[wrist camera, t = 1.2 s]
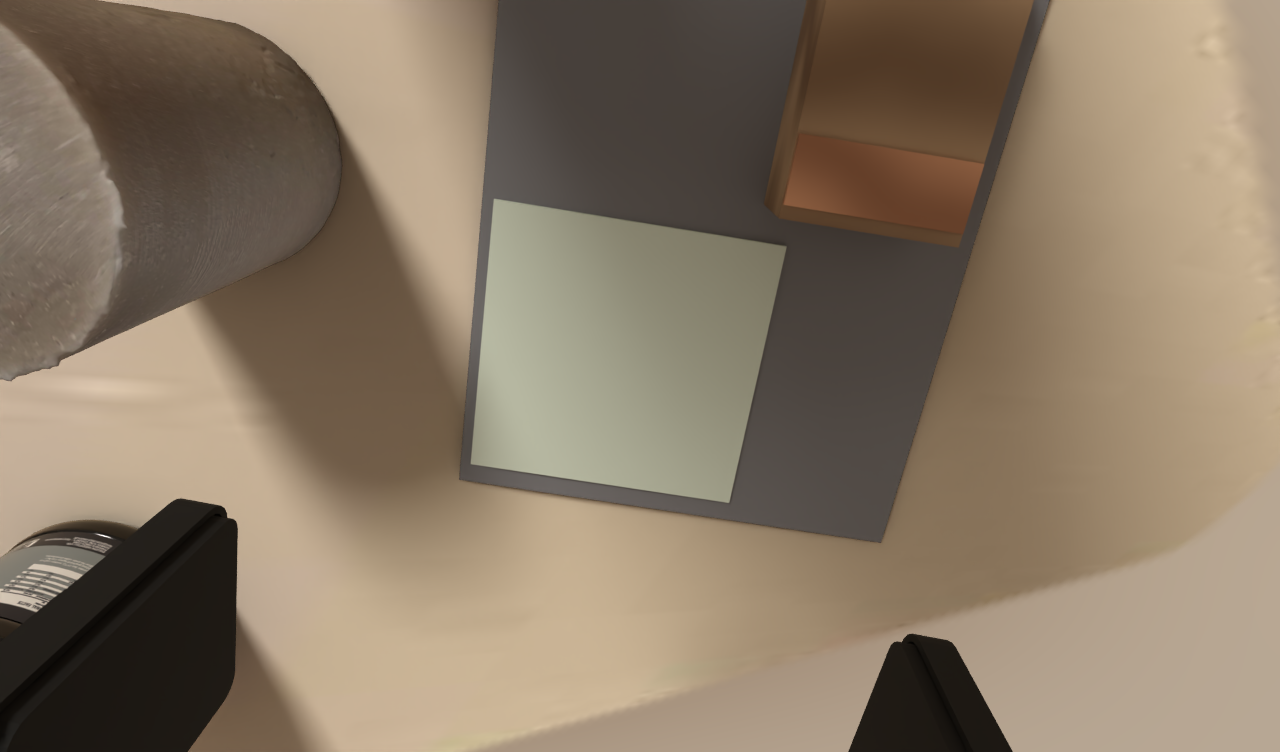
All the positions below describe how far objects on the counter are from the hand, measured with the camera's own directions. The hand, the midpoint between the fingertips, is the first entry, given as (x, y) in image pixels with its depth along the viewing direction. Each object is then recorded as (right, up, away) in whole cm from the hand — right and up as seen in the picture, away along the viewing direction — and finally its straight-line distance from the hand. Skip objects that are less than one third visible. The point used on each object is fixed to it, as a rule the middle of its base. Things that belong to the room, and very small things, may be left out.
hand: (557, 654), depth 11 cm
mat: (+5, +10, +20) cm, 23 cm away
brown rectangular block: (+10, +15, +18) cm, 26 cm away
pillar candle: (-16, +13, +20) cm, 28 cm away
